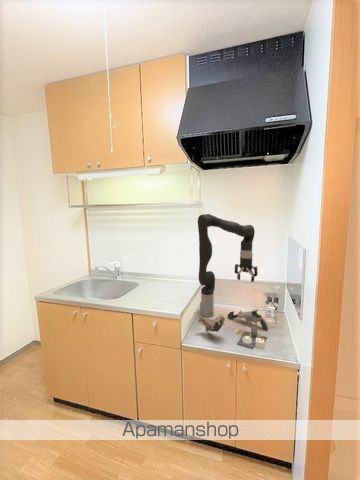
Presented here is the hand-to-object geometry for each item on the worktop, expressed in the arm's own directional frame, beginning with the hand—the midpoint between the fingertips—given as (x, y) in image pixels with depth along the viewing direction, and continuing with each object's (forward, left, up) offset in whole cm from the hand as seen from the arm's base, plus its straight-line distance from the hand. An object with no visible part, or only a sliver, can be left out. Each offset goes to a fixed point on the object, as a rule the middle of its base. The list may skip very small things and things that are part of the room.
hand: (245, 280), depth 155 cm
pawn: (+9, -8, -32) cm, 34 cm away
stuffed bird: (-14, -22, -33) cm, 42 cm away
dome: (+7, -17, -33) cm, 38 cm away
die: (+14, -16, -33) cm, 39 cm away
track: (+6, -8, -33) cm, 35 cm away
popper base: (+7, -17, -33) cm, 38 cm away
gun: (0, +5, -34) cm, 34 cm away
